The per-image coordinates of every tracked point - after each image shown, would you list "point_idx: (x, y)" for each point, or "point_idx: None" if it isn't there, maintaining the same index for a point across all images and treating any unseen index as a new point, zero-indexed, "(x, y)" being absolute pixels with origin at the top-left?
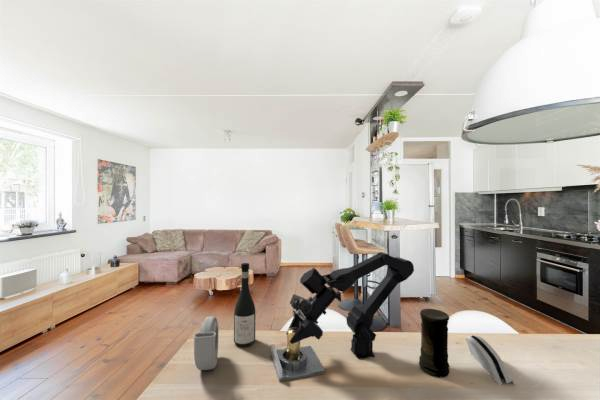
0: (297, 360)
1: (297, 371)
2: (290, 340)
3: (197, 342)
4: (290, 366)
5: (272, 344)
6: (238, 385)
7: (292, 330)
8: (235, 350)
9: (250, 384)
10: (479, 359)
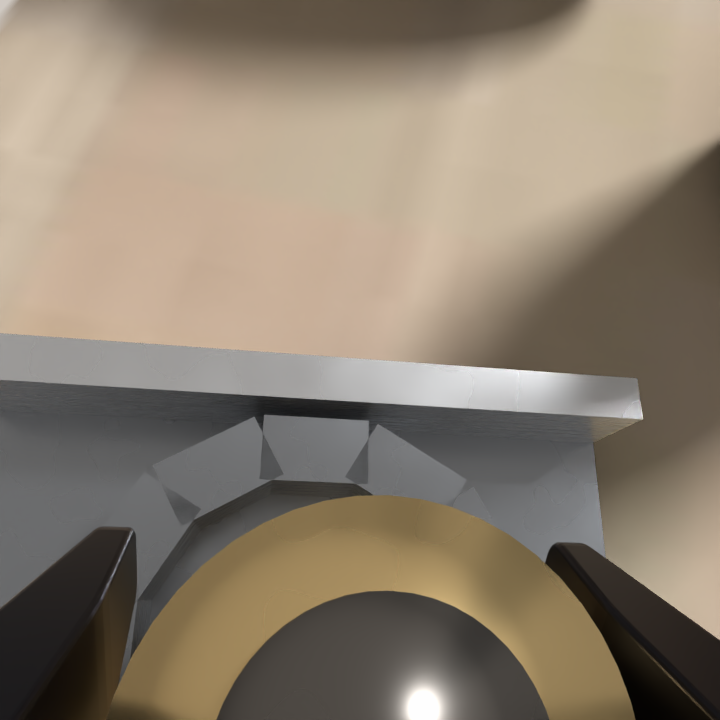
0: None
1: None
2: (102, 541)
3: None
4: None
5: (634, 395)
6: (130, 35)
7: (353, 690)
8: (685, 102)
9: (99, 120)
10: None
